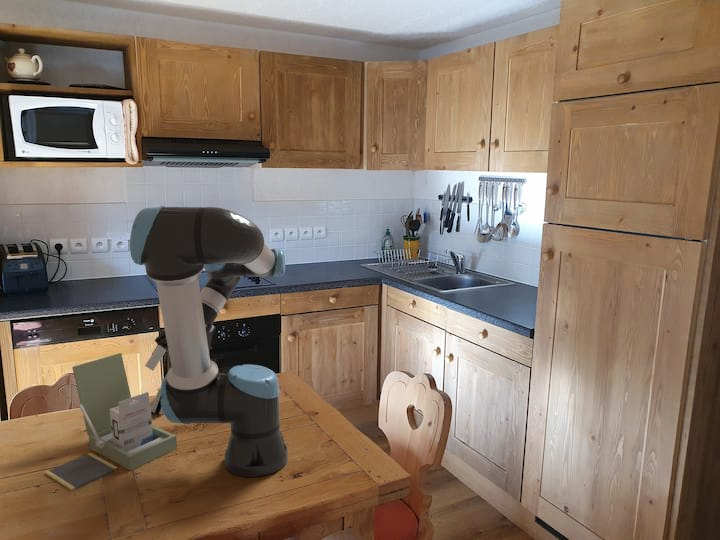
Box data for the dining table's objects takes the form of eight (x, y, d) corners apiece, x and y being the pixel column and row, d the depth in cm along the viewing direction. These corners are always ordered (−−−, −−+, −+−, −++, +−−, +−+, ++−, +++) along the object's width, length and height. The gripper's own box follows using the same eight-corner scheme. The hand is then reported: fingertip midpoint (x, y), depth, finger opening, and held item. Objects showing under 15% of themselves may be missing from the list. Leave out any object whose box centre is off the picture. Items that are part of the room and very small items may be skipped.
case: (177, 448, 142) (172, 370, 138) (127, 472, 130) (120, 388, 127) (125, 424, 155) (119, 352, 151) (76, 444, 144) (68, 367, 140)
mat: (117, 469, 132) (117, 467, 132) (71, 490, 123) (71, 488, 123) (90, 454, 139) (90, 452, 138) (45, 473, 130) (44, 471, 130)
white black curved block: (166, 392, 177) (175, 364, 175) (180, 396, 177) (189, 369, 176) (145, 415, 161) (155, 384, 159) (161, 420, 161) (171, 389, 159)
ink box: (143, 439, 146) (139, 386, 144) (154, 445, 143) (150, 391, 141) (112, 451, 140) (107, 397, 137) (122, 458, 137) (118, 402, 134)
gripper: (245, 321, 152) (203, 390, 142) (187, 307, 166) (145, 370, 157) (229, 306, 146) (185, 377, 137) (170, 293, 161) (127, 357, 151)
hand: (164, 373), depth 147 cm, fingers open, 13 cm apart
